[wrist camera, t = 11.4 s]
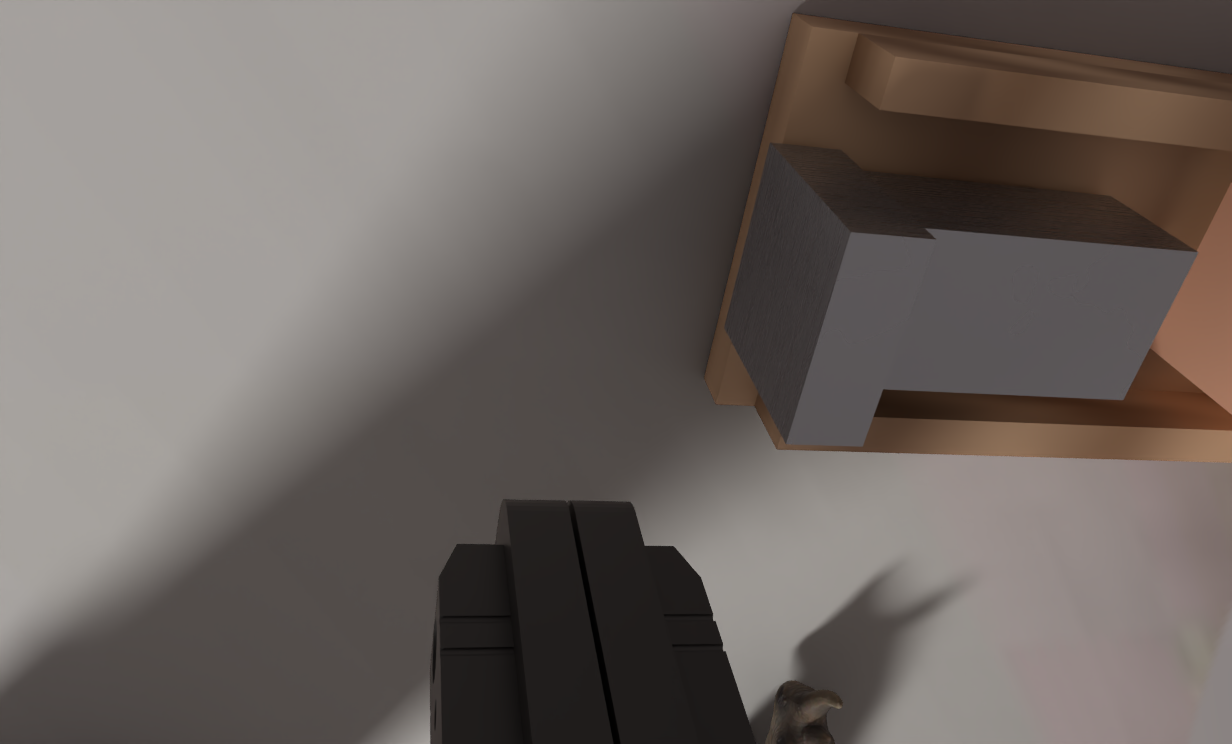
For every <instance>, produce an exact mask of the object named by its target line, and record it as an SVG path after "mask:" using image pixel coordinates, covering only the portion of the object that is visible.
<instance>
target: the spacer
mask: <svg viewBox="0 0 1232 744" xmlns="http://www.w3.org/2000/svg"><path fill="white" fill-rule="evenodd" d="M1197 252H1199V253H1198V255H1197V257H1196V259H1195V261H1194V263H1193V264H1192V266H1191V268H1190V270H1189V272H1188V274H1187V276H1186V278H1185V280H1184V282H1183V284H1182V286H1181V288H1180V290H1179V292H1178V294H1177V296H1176V298H1175V300H1174V302H1173V304H1172V306H1171V308H1170V310H1169V311H1168V313H1167V315H1166V317H1165V319H1164V321H1163V323H1162V325H1161V327H1160V329H1159V331H1158V333H1157V335H1156V337H1155V339H1154V341H1153V343H1152V345H1151V347H1150V348H1151V349H1152V350H1153V351H1154V352H1155V353H1157V354H1158V355H1159V356H1160V357H1162V358H1163V359H1164V360H1165V361H1166V362H1168V363H1169V364H1170V365H1171V366H1173V367H1174V368H1175V369H1176V370H1177V371H1179V372H1180V373H1181V374H1182V375H1184V376H1185V377H1186V378H1187V379H1189V380H1190V381H1191V382H1192V383H1193V384H1195V385H1196V386H1197V387H1198V388H1200V389H1201V390H1202V391H1203V392H1204V393H1206V394H1207V395H1208V396H1209V397H1211V398H1212V399H1213V400H1214V401H1216V402H1217V403H1218V404H1219V405H1220V406H1222V407H1223V408H1224V409H1225V410H1227V411H1228V412H1229V413H1230V414H1231V415H1232V183H1231V184H1230V186H1229V188H1228V190H1227V192H1226V194H1225V196H1224V198H1223V200H1222V202H1221V204H1220V206H1219V208H1218V210H1217V212H1216V214H1215V216H1214V218H1213V220H1212V222H1211V224H1210V226H1209V228H1208V230H1207V232H1206V234H1205V236H1204V238H1203V240H1202V242H1201V243H1200V245H1199V247H1198V249H1197Z"/></svg>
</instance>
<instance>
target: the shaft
mask: <svg viewBox="0 0 1232 744" xmlns="http://www.w3.org/2000/svg"><path fill="white" fill-rule="evenodd" d="M1198 253H1199V252H1197V251H1196V250H1194V249H1193V248H1191V247H1190V246H1188V245H1187V244H1185V243H1183V242H1182V241H1180V240H1179V239H1177V238H1176V237H1174V236H1173V235H1171V234H1169V233H1168V232H1166V231H1165V230H1163V229H1162V228H1160V227H1159V226H1157V225H1155V224H1154V223H1152V222H1151V221H1149V220H1148V219H1146V218H1145V217H1143V216H1141V215H1140V214H1138V213H1137V212H1135V211H1134V210H1132V209H1131V208H1129V207H1127V206H1126V205H1124V204H1123V203H1121V202H1120V201H1118V200H1116V199H1115V198H1113V197H1112V196H1107V195H1098V194H1088V193H1078V192H1068V191H1058V190H1048V189H1038V188H1028V187H1019V186H1009V185H999V184H989V183H979V182H969V181H959V180H949V179H940V178H930V177H920V176H910V175H900V174H890V173H880V172H870V171H863V170H862V169H861V168H860V167H859V166H858V165H857V164H856V163H855V162H854V161H853V160H852V159H851V158H849V157H848V156H847V155H846V154H845V153H844V152H843V151H842V150H838V149H828V148H819V147H810V146H800V145H791V144H781V143H772V142H770V144H769V148H768V152H767V156H766V160H765V164H764V169H763V173H762V177H761V181H760V185H759V189H758V193H757V197H756V201H755V205H754V209H753V213H752V217H751V221H750V225H749V229H748V233H747V237H746V241H745V245H744V249H743V253H742V257H741V261H740V265H739V269H738V273H737V277H736V281H735V285H734V289H733V294H732V298H731V302H730V306H729V310H728V314H727V318H726V322H725V326H724V329H725V331H726V333H727V334H728V336H729V338H730V340H731V342H732V344H733V346H734V348H735V349H736V351H737V353H738V355H739V357H740V359H741V361H742V363H743V365H744V366H745V368H746V370H747V372H748V374H749V376H750V378H751V380H752V381H753V383H754V385H755V387H756V389H757V391H758V393H759V395H760V396H761V398H762V400H763V402H764V404H765V406H766V408H767V410H768V412H769V413H770V415H771V417H772V419H773V421H774V423H775V425H776V427H777V428H778V430H779V432H780V434H781V436H782V438H783V440H784V442H785V443H786V444H792V445H825V446H858V447H863V444H864V442H865V439H866V436H867V433H868V430H869V428H870V425H871V422H872V419H873V416H874V414H875V411H876V408H877V405H878V402H879V400H880V397H881V394H882V391H883V389H887V390H909V391H931V392H953V393H975V394H997V395H1019V396H1041V397H1064V398H1086V399H1108V400H1124V398H1125V396H1126V394H1127V392H1128V390H1129V388H1130V386H1131V384H1132V382H1133V380H1134V378H1135V376H1136V374H1137V372H1138V370H1139V368H1140V366H1141V364H1142V362H1143V360H1144V358H1145V356H1146V355H1147V353H1148V351H1149V349H1150V347H1151V345H1152V343H1153V341H1154V339H1155V337H1156V335H1157V333H1158V331H1159V329H1160V327H1161V325H1162V323H1163V321H1164V319H1165V317H1166V315H1167V313H1168V311H1169V310H1170V308H1171V306H1172V304H1173V302H1174V300H1175V298H1176V296H1177V294H1178V292H1179V290H1180V288H1181V286H1182V284H1183V282H1184V280H1185V278H1186V276H1187V274H1188V272H1189V270H1190V268H1191V266H1192V264H1193V263H1194V261H1195V259H1196V257H1197V255H1198Z"/></svg>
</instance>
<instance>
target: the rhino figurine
mask: <svg viewBox="0 0 1232 744" xmlns="http://www.w3.org/2000/svg"><path fill="white" fill-rule="evenodd" d="M842 706H843V702H842V700H841V698H840V697H839V696H838V695H837V694H836V693H835V692H833V691H830V690H815V689H813V688H812V687H809V686H806V685H804V684H802V683H800V682H798V681H787V682H785V683H784V684H782V685H781V686H780V688H779V690H778V691H777V694H776V697H775V702H774V712H773V716H772V720H771V726H770V730H769V733H768V735H767V738H766V741H765V744H835V742H834V739H833V737H832V735H831V734H830V733H829V731H828V727H827V720H826V714H827V712H828V710H829V709H830V708H831V707H834V708H837V709H841V708H842Z"/></svg>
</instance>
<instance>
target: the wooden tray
mask: <svg viewBox="0 0 1232 744" xmlns="http://www.w3.org/2000/svg"><path fill="white" fill-rule="evenodd" d="M770 142H772V143H781V144H791V145H800V146H810V147H819V148H828V149H838V150H842V151H843V152H844V153H845V154H846V155H847V156H848V157H849V158H851V159H852V160H853V161H854V162H855V163H856V164H857V165H858V166H859V167H860V168H861V169H862V170H863V171H870V172H880V173H890V174H900V175H910V176H920V177H930V178H940V179H949V180H959V181H969V182H979V183H989V184H999V185H1009V186H1019V187H1028V188H1038V189H1048V190H1058V191H1068V192H1078V193H1088V194H1098V195H1107V196H1112V197H1113V198H1115V199H1116V200H1118V201H1120V202H1121V203H1123V204H1124V205H1126V206H1127V207H1129V208H1131V209H1132V210H1134V211H1135V212H1137V213H1138V214H1140V215H1141V216H1143V217H1145V218H1146V219H1148V220H1149V221H1151V222H1152V223H1154V224H1155V225H1157V226H1159V227H1160V228H1162V229H1163V230H1165V231H1166V232H1168V233H1169V234H1171V235H1173V236H1174V237H1176V238H1177V239H1179V240H1180V241H1182V242H1183V243H1185V244H1187V245H1188V246H1190V247H1191V248H1193V249H1194V250H1196V251H1197V249H1198V247H1199V245H1200V243H1201V242H1202V240H1203V238H1204V236H1205V234H1206V232H1207V230H1208V228H1209V226H1210V224H1211V222H1212V220H1213V218H1214V216H1215V214H1216V212H1217V210H1218V208H1219V206H1220V204H1221V202H1222V200H1223V198H1224V196H1225V194H1226V192H1227V190H1228V188H1229V186H1230V184H1231V183H1232V74H1226V73H1219V72H1212V71H1205V70H1198V69H1191V68H1183V67H1176V66H1169V65H1162V64H1155V63H1147V62H1140V61H1133V60H1126V59H1119V58H1112V57H1104V56H1097V55H1090V54H1083V53H1076V52H1069V51H1061V50H1054V49H1047V48H1040V47H1033V46H1025V45H1018V44H1011V43H1004V42H997V41H990V40H982V39H975V38H968V37H961V36H954V35H947V34H939V33H932V32H925V31H918V30H911V29H903V28H896V27H889V26H882V25H875V24H868V23H860V22H853V21H846V20H839V19H832V18H825V17H817V16H810V15H803V14H796V13H793V14H792V18H791V22H790V26H789V31H788V35H787V39H786V43H785V47H784V51H783V55H782V59H781V63H780V68H779V72H778V76H777V80H776V84H775V88H774V92H773V96H772V100H771V105H770V109H769V113H768V117H767V121H766V125H765V129H764V133H763V137H762V142H761V146H760V150H759V154H758V158H757V162H756V166H755V170H754V174H753V179H752V183H751V187H750V191H749V195H748V199H747V203H746V207H745V211H744V216H743V220H742V224H741V228H740V232H739V236H738V240H737V244H736V248H735V253H734V257H733V261H732V265H731V269H730V273H729V277H728V281H727V285H726V290H725V294H724V298H723V302H722V306H721V310H720V314H719V318H718V322H717V327H716V331H715V335H714V339H713V343H712V347H711V351H710V355H709V359H708V363H707V368H706V372H705V376H704V379H705V381H706V384H707V386H708V388H709V390H710V392H711V395H712V397H713V399H714V401H715V403H716V404H719V405H744V406H755V408H756V410H757V412H758V414H759V416H760V418H761V420H762V422H763V424H764V426H765V427H766V429H767V431H768V433H769V435H770V437H771V439H772V441H773V443H774V445H775V447H776V449H779V450H813V451H848V452H882V453H917V454H952V455H986V456H1021V457H1055V458H1090V459H1124V460H1159V461H1194V462H1228V463H1232V415H1231V414H1230V413H1229V412H1228V411H1227V410H1225V409H1224V408H1223V407H1222V406H1220V405H1219V404H1218V403H1217V402H1216V401H1214V400H1213V399H1212V398H1211V397H1209V396H1208V395H1207V394H1206V393H1204V392H1203V391H1202V390H1201V389H1200V388H1198V387H1197V386H1196V385H1195V384H1193V383H1192V382H1191V381H1190V380H1189V379H1187V378H1186V377H1185V376H1184V375H1182V374H1181V373H1180V372H1179V371H1177V370H1176V369H1175V368H1174V367H1173V366H1171V365H1170V364H1169V363H1168V362H1166V361H1165V360H1164V359H1163V358H1162V357H1160V356H1159V355H1158V354H1157V353H1155V352H1154V351H1153V350H1152V349H1151V348H1150V349H1149V351H1148V353H1147V355H1146V356H1145V358H1144V360H1143V362H1142V364H1141V366H1140V368H1139V370H1138V372H1137V374H1136V376H1135V378H1134V380H1133V382H1132V384H1131V386H1130V388H1129V390H1128V392H1127V394H1126V396H1125V398H1124V400H1108V399H1086V398H1064V397H1041V396H1019V395H997V394H975V393H953V392H931V391H909V390H887V389H883V391H882V394H881V397H880V400H879V402H878V405H877V408H876V411H875V414H874V416H873V419H872V422H871V425H870V428H869V430H868V433H867V436H866V439H865V442H864V444H863V447H858V446H825V445H792V444H786V443H785V442H784V440H783V438H782V436H781V434H780V432H779V430H778V428H777V427H776V425H775V423H774V421H773V419H772V417H771V415H770V413H769V412H768V410H767V408H766V406H765V404H764V402H763V400H762V398H761V396H760V395H759V393H758V391H757V389H756V387H755V385H754V383H753V381H752V380H751V378H750V376H749V374H748V372H747V370H746V368H745V366H744V365H743V363H742V361H741V359H740V357H739V355H738V353H737V351H736V349H735V348H734V346H733V344H732V342H731V340H730V338H729V336H728V334H727V333H726V331H725V329H724V326H725V322H726V318H727V314H728V310H729V306H730V302H731V298H732V294H733V289H734V285H735V281H736V277H737V273H738V269H739V265H740V261H741V257H742V253H743V249H744V245H745V241H746V237H747V233H748V229H749V225H750V221H751V217H752V213H753V209H754V205H755V201H756V197H757V193H758V189H759V185H760V181H761V177H762V173H763V169H764V164H765V160H766V156H767V152H768V148H769V144H770Z"/></svg>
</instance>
